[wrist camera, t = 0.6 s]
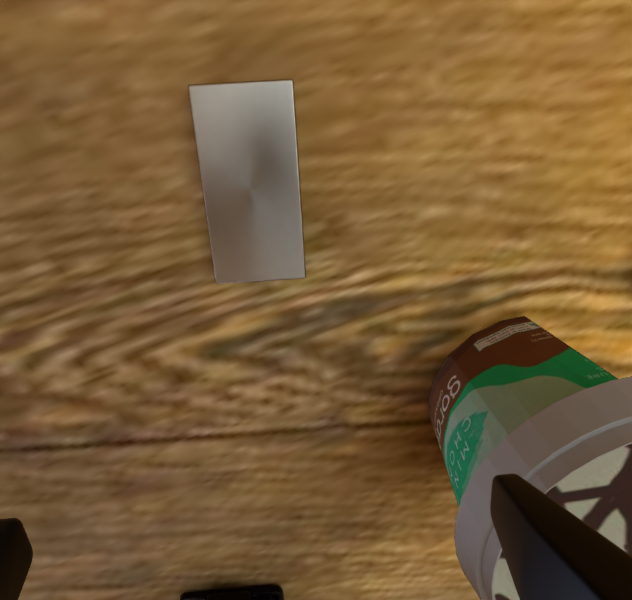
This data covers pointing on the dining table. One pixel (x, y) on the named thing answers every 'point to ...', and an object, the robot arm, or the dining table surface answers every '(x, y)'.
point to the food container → (531, 439)
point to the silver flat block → (250, 178)
